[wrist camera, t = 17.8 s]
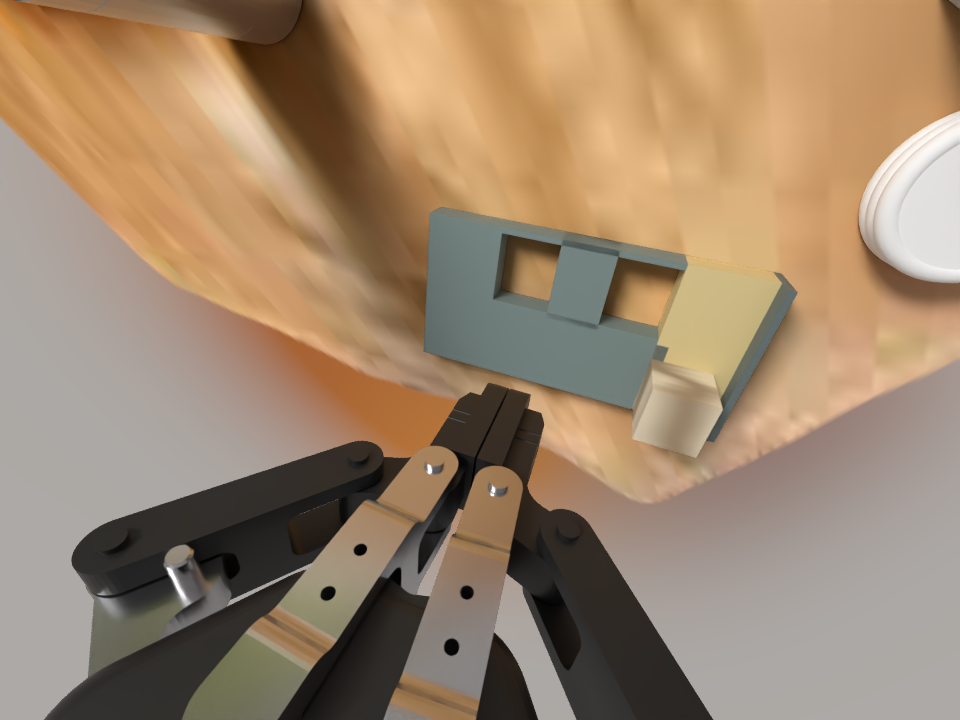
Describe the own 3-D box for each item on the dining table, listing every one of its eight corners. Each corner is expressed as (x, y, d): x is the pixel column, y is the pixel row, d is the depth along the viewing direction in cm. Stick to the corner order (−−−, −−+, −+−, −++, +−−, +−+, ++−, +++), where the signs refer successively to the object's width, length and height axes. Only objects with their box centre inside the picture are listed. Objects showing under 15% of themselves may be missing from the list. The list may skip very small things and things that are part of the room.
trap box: (433, 340, 45) (417, 358, 42) (441, 207, 38) (422, 216, 34) (707, 415, 39) (713, 442, 36) (781, 274, 32) (797, 292, 29)
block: (633, 404, 38) (632, 438, 34) (651, 358, 36) (652, 390, 32) (690, 420, 37) (696, 458, 33) (713, 374, 35) (722, 409, 31)
